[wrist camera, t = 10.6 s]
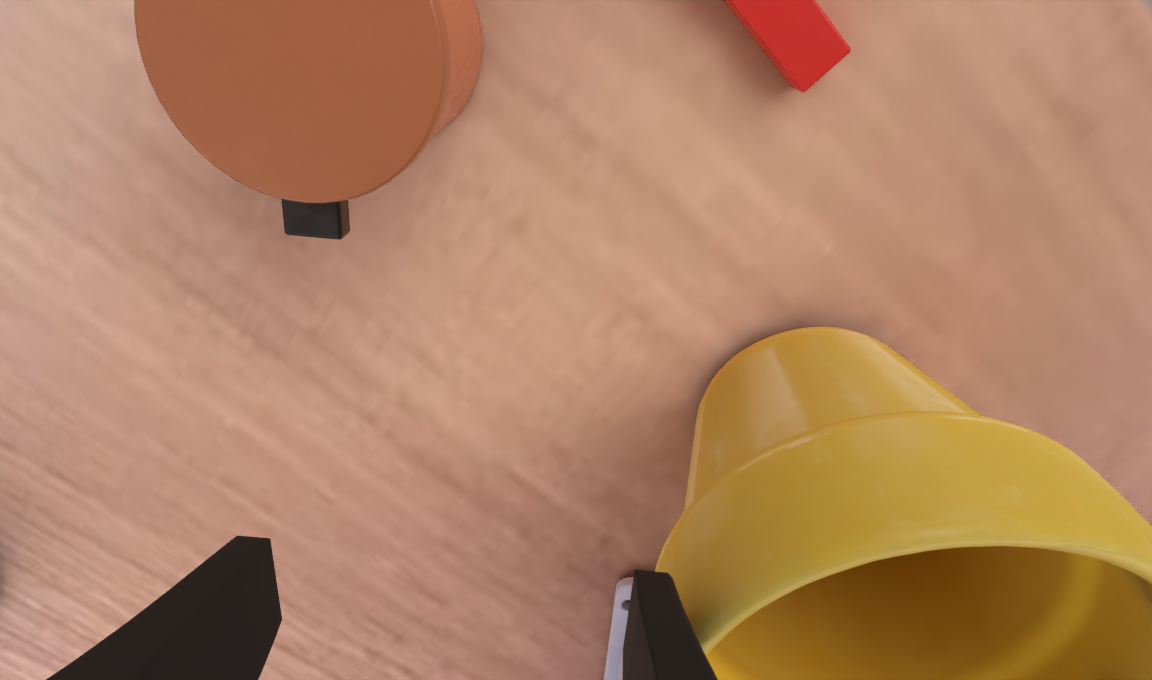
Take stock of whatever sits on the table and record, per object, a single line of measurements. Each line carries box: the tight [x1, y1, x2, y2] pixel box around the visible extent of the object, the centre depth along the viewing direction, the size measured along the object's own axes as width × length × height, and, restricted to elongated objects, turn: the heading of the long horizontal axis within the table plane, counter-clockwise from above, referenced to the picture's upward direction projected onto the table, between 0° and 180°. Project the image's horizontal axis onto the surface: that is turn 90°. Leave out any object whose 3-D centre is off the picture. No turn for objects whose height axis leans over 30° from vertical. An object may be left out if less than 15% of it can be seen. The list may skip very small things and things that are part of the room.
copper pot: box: [134, 0, 482, 239], centre depth 15 cm, size 7×6×6 cm
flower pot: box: [655, 327, 1152, 680], centre depth 17 cm, size 10×10×10 cm
